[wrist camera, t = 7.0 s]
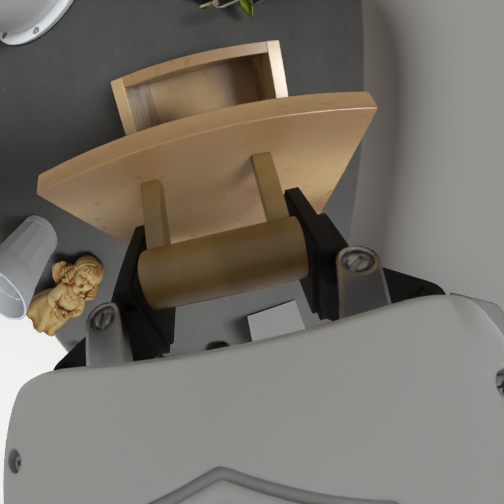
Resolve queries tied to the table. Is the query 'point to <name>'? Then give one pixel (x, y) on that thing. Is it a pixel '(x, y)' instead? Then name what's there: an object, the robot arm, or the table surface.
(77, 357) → the robot arm
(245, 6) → the passion flower
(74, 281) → the figurine
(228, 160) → the lid
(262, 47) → the chest
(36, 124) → the table surface
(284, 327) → the white and red cube
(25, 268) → the cup
